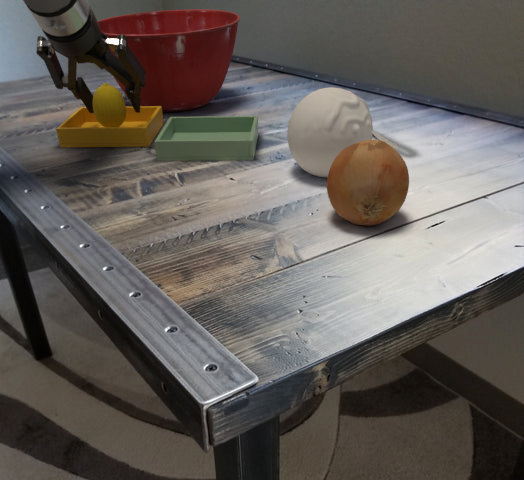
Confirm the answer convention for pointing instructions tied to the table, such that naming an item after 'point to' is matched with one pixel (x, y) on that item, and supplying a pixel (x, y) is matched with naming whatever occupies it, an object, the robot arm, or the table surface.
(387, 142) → the fork
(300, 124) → the decorative ball
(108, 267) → the table surface
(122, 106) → the lemon
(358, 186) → the onion
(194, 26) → the mixing bowl
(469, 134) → the table surface
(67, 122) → the yellow tray
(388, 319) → the table surface
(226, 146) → the green tray
